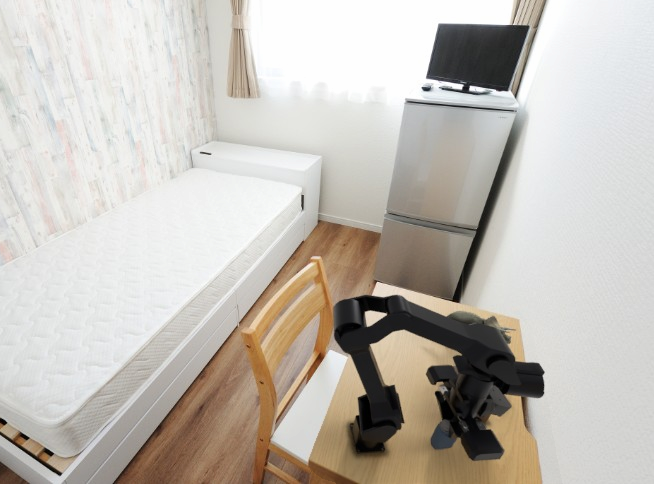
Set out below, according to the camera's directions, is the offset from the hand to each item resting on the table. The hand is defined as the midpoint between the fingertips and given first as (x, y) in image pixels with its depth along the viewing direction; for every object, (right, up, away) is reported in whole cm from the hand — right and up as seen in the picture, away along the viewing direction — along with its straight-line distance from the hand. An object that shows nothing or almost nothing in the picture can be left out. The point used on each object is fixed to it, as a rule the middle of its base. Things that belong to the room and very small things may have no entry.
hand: (448, 431), depth 74 cm
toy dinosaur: (+19, +10, +32) cm, 39 cm away
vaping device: (0, -4, +3) cm, 5 cm away
